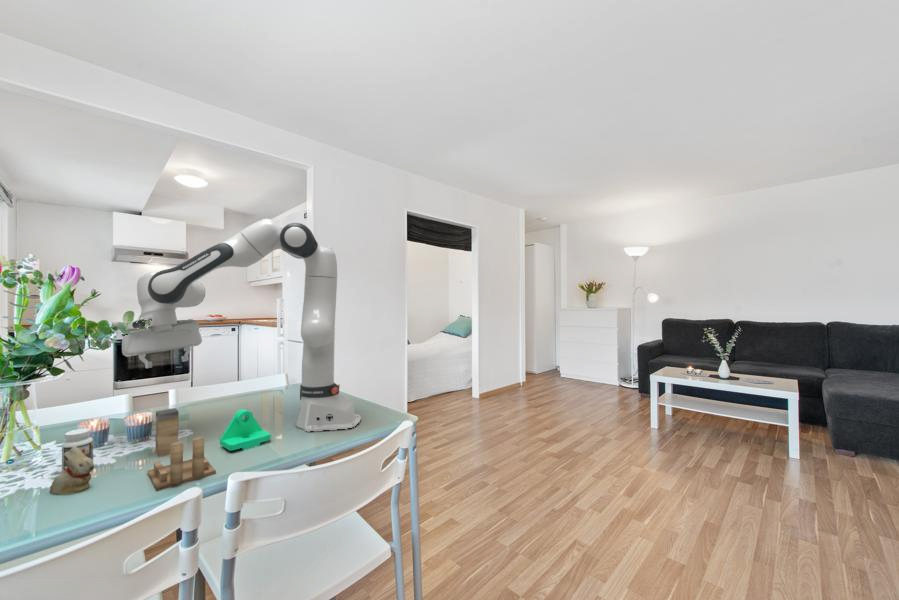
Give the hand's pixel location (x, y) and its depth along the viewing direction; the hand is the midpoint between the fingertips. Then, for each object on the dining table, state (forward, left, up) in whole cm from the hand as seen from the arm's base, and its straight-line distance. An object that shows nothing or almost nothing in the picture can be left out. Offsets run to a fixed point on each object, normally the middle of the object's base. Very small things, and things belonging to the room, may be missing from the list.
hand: (167, 364), depth 117 cm
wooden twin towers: (-21, +24, -24) cm, 39 cm away
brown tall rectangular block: (-8, +11, -24) cm, 27 cm away
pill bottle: (+7, +21, -24) cm, 33 cm away
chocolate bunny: (-1, +31, -24) cm, 40 cm away
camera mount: (-27, +5, -24) cm, 37 cm away
